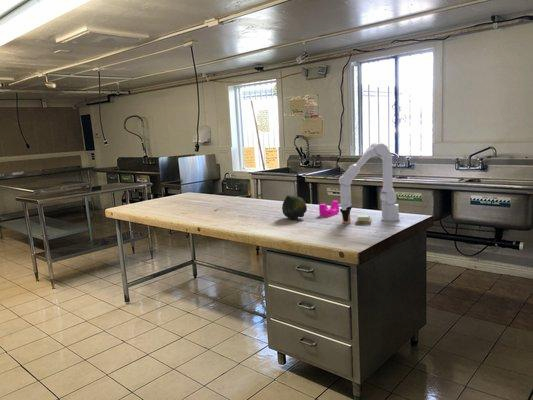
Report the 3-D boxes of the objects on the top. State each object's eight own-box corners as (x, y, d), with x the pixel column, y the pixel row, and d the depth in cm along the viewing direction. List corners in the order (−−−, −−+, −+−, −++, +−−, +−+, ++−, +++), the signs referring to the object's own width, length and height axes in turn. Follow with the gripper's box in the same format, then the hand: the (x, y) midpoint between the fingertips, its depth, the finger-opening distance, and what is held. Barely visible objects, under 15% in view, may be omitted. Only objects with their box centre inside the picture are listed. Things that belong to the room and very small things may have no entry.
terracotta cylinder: (351, 221, 239) (350, 214, 238) (350, 223, 234) (349, 215, 234) (343, 221, 240) (342, 214, 239) (342, 223, 236) (341, 215, 235)
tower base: (371, 222, 237) (371, 218, 236) (370, 225, 229) (370, 221, 229) (357, 222, 239) (357, 218, 239) (355, 225, 232) (355, 221, 231)
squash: (296, 222, 246) (295, 197, 243) (277, 219, 256) (276, 195, 253) (311, 217, 256) (310, 193, 253) (293, 215, 266) (291, 192, 263)
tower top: (369, 218, 236) (369, 214, 235) (368, 221, 230) (368, 217, 230) (358, 218, 238) (358, 214, 237) (357, 221, 232) (357, 217, 232)
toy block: (327, 217, 255) (327, 205, 253) (319, 216, 259) (319, 204, 258) (342, 212, 265) (341, 201, 263) (334, 212, 269) (333, 200, 268)
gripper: (340, 194, 243) (341, 217, 245) (336, 198, 229) (337, 223, 231) (352, 194, 240) (353, 217, 243) (349, 198, 227) (350, 223, 229)
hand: (346, 220), depth 237 cm, fingers closed on terracotta cylinder, 4 cm apart
